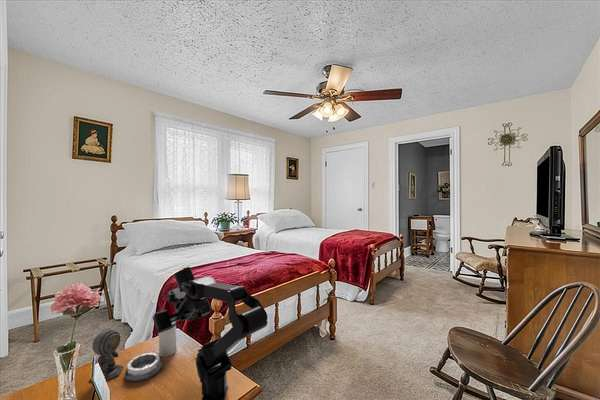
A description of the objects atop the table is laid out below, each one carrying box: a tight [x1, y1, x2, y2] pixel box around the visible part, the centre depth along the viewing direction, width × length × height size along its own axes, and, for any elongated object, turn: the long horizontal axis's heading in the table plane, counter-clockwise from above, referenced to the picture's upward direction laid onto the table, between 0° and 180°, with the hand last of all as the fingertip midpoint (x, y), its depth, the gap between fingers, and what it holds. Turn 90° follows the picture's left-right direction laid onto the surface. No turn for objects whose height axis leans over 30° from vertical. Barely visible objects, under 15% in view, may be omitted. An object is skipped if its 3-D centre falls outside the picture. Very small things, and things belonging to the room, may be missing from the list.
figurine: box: [88, 329, 124, 383], centre depth 92 cm, size 9×10×15 cm
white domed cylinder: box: [158, 318, 178, 357], centre depth 104 cm, size 6×6×12 cm
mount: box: [124, 352, 163, 383], centre depth 94 cm, size 11×11×4 cm
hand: (176, 324), depth 99 cm, fingers open, 9 cm apart
